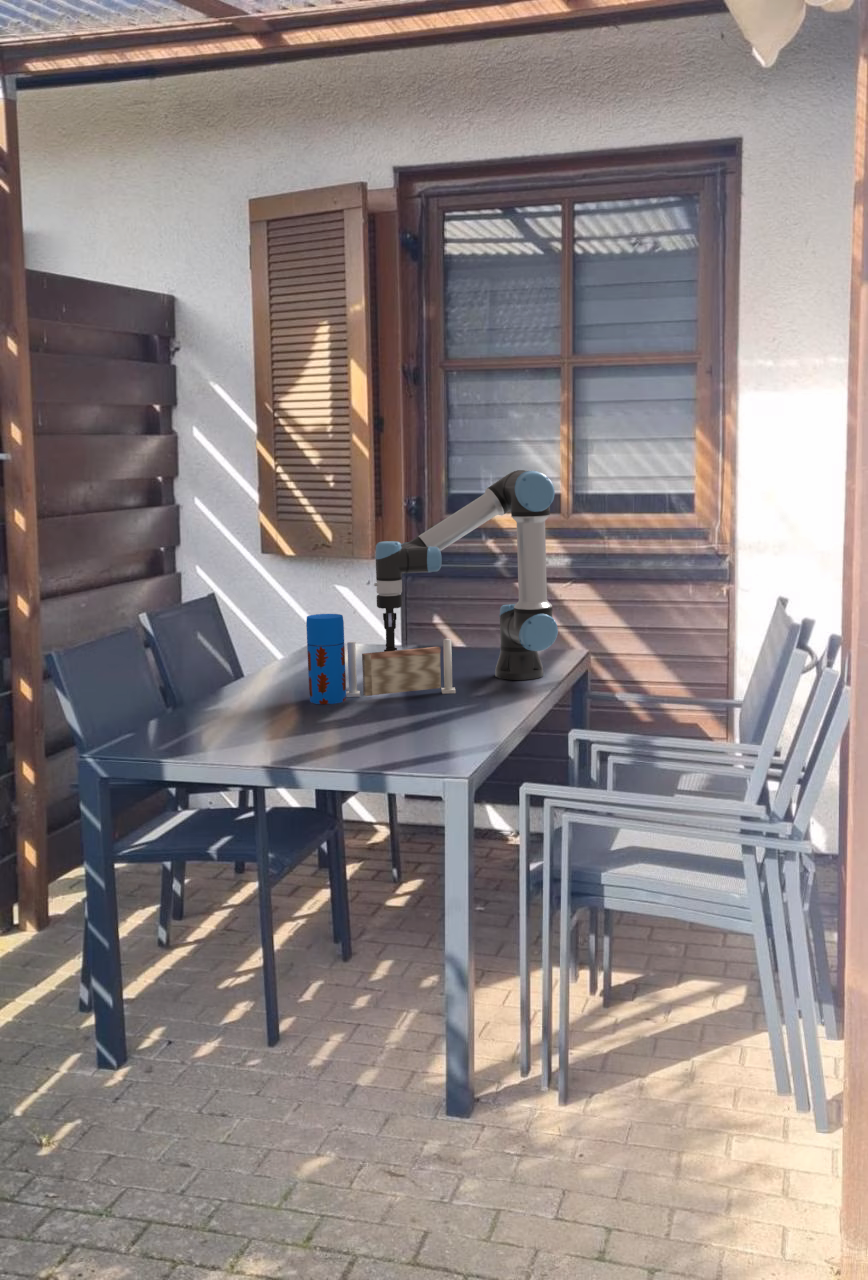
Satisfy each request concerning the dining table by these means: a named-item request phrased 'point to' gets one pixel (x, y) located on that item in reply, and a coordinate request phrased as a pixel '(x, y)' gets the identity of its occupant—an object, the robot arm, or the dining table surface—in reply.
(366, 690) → the gate
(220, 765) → the dining table surface
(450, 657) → the gate posts
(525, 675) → the robot arm
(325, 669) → the thermos
